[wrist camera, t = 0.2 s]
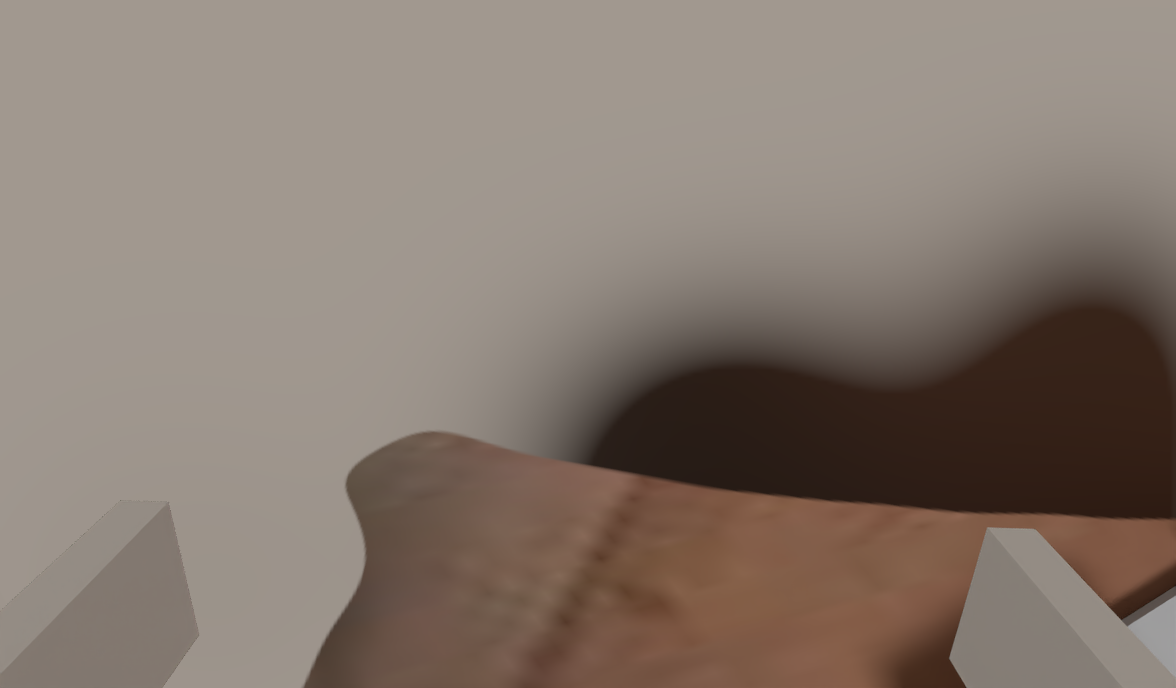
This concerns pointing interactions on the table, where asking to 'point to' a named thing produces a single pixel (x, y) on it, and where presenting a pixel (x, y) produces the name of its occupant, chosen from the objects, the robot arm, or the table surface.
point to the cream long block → (1157, 628)
